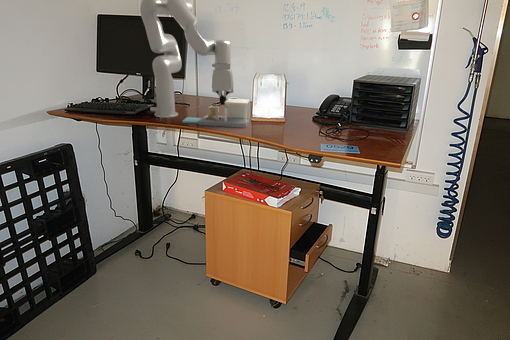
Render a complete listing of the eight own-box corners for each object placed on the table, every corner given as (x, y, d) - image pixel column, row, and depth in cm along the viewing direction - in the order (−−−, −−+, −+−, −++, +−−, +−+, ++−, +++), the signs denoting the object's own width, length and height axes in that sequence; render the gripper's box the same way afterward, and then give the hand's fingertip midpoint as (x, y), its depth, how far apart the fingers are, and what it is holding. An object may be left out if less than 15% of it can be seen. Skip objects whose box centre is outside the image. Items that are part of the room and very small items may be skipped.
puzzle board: (198, 124, 191) (198, 121, 190) (205, 118, 204) (205, 114, 203) (245, 127, 188) (245, 123, 187) (250, 121, 201) (250, 117, 200)
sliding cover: (224, 121, 190) (224, 101, 187) (228, 117, 200) (228, 98, 196) (246, 122, 189) (246, 103, 185) (249, 118, 198) (249, 99, 195)
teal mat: (182, 122, 194) (181, 121, 194) (187, 118, 203) (187, 117, 202) (199, 123, 193) (199, 122, 193) (203, 119, 202) (203, 118, 201)
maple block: (208, 123, 195) (208, 107, 192) (210, 121, 199) (210, 106, 196) (216, 123, 194) (216, 108, 191) (218, 121, 198) (218, 106, 196)
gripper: (205, 67, 183) (206, 104, 190) (236, 68, 181) (236, 106, 188) (209, 65, 190) (210, 102, 197) (239, 66, 188) (238, 103, 195)
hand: (222, 104), depth 192 cm, fingers closed
